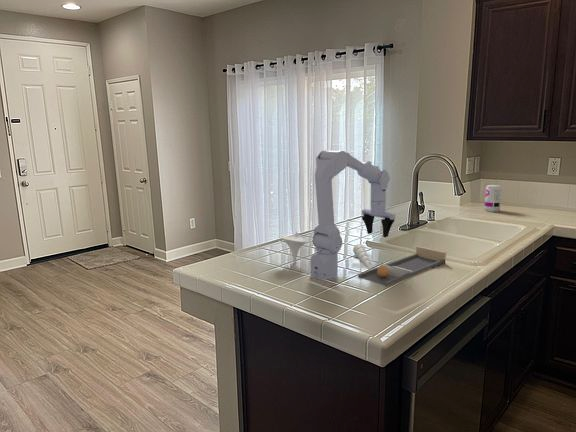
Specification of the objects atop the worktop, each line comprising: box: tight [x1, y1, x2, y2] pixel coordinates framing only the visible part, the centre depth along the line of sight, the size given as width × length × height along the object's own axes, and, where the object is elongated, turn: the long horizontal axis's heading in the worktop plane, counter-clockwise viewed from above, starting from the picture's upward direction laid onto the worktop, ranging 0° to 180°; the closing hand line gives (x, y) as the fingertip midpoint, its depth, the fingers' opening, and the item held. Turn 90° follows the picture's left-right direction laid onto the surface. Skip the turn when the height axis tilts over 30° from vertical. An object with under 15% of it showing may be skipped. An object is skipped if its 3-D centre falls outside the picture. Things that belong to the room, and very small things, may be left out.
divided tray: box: [357, 245, 447, 287], centre depth 159 cm, size 36×12×8 cm, turn 130°
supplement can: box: [483, 184, 502, 213], centre depth 258 cm, size 8×8×15 cm
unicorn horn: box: [352, 243, 373, 270], centre depth 169 cm, size 5×24×5 cm, turn 0°
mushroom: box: [280, 231, 308, 263], centre depth 172 cm, size 10×11×12 cm
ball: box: [377, 265, 389, 277], centre depth 151 cm, size 4×4×4 cm
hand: (377, 235), depth 171 cm, fingers open, 7 cm apart
